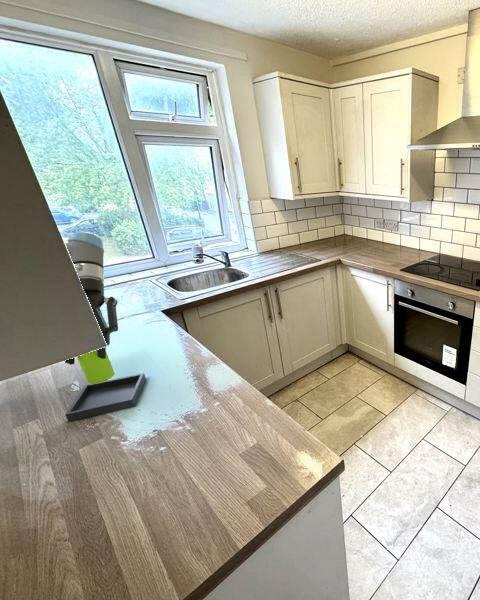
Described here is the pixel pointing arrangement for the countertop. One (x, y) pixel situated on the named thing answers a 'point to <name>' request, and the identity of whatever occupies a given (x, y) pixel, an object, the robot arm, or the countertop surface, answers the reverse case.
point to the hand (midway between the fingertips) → (85, 360)
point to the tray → (106, 397)
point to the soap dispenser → (96, 367)
